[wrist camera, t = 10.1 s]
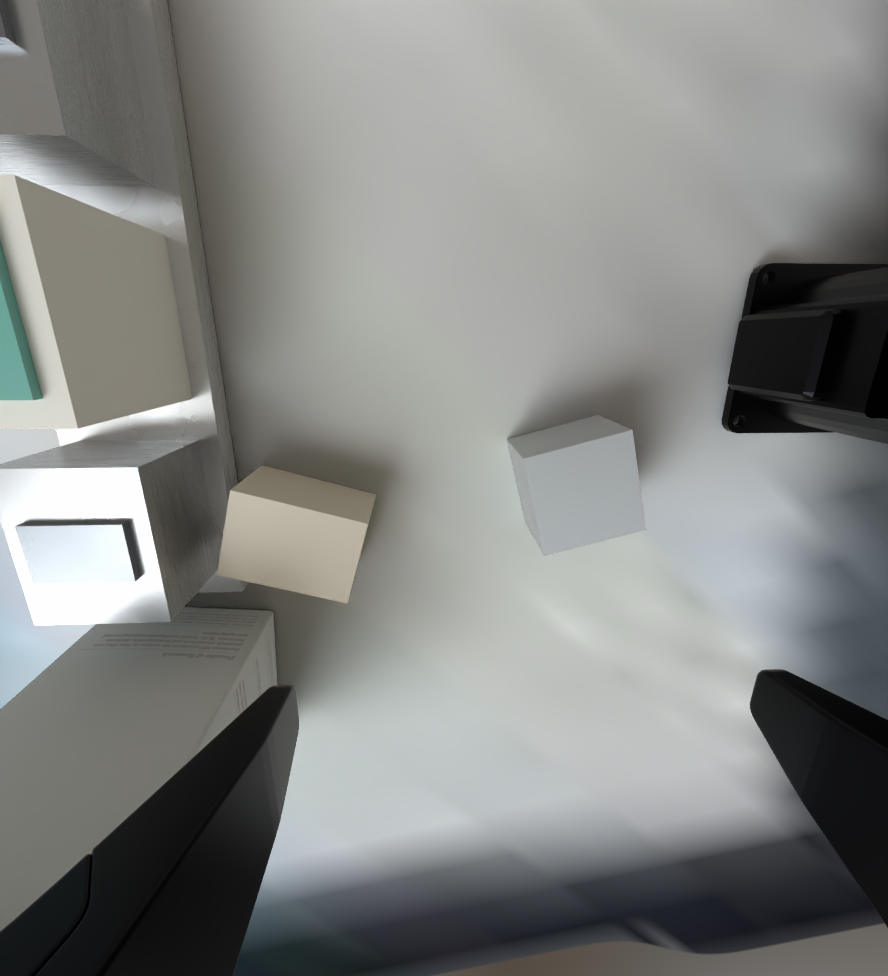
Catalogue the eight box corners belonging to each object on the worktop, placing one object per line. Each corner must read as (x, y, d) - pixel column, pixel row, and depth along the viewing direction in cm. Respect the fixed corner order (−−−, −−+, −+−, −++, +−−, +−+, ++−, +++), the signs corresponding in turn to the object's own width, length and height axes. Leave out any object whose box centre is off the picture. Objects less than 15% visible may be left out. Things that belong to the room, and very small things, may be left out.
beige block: (376, 493, 20) (368, 523, 17) (359, 562, 21) (347, 603, 18) (262, 464, 19) (229, 489, 16) (249, 536, 20) (216, 575, 17)
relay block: (596, 414, 19) (632, 429, 16) (609, 498, 21) (645, 529, 17) (506, 438, 20) (523, 459, 16) (524, 521, 21) (544, 555, 17)
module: (164, 235, 15) (2, 170, 9) (192, 399, 17) (69, 431, 11) (27, 233, 15) (-228, 165, 9) (69, 399, 17) (-124, 432, 11)
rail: (159, -52, 14) (4, -284, 9) (252, 578, 21) (195, 657, 16) (-43, -61, 14) (-328, -305, 9) (118, 580, 21) (14, 662, 15)
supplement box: (114, 599, 21) (-297, 948, 9) (278, 607, 21) (96, 946, 10) (134, 725, 23) (-172, 1137, 11) (282, 729, 24) (139, 1127, 12)
